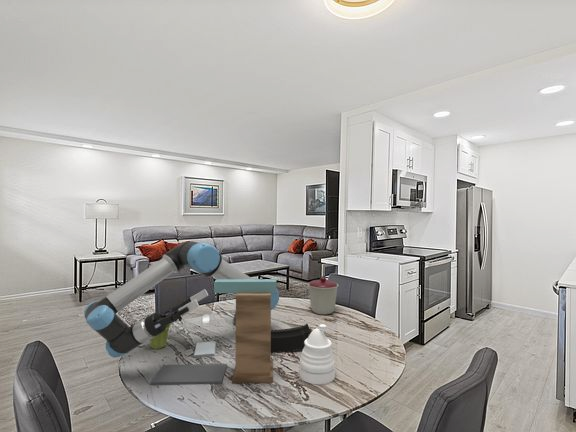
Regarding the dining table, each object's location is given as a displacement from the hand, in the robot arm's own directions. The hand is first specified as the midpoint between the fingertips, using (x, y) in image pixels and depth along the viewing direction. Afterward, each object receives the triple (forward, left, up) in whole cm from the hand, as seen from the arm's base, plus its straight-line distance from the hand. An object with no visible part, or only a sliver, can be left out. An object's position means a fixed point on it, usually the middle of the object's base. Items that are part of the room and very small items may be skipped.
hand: (202, 297), depth 109 cm
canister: (-68, +55, -28) cm, 92 cm away
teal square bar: (0, +16, +2) cm, 16 cm away
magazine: (-18, +29, -28) cm, 44 cm away
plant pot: (-24, -24, -28) cm, 44 cm away
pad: (0, -4, -28) cm, 28 cm away
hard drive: (-20, -3, -29) cm, 35 cm away
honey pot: (+1, +42, -28) cm, 50 cm away
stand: (0, +19, -28) cm, 34 cm away
